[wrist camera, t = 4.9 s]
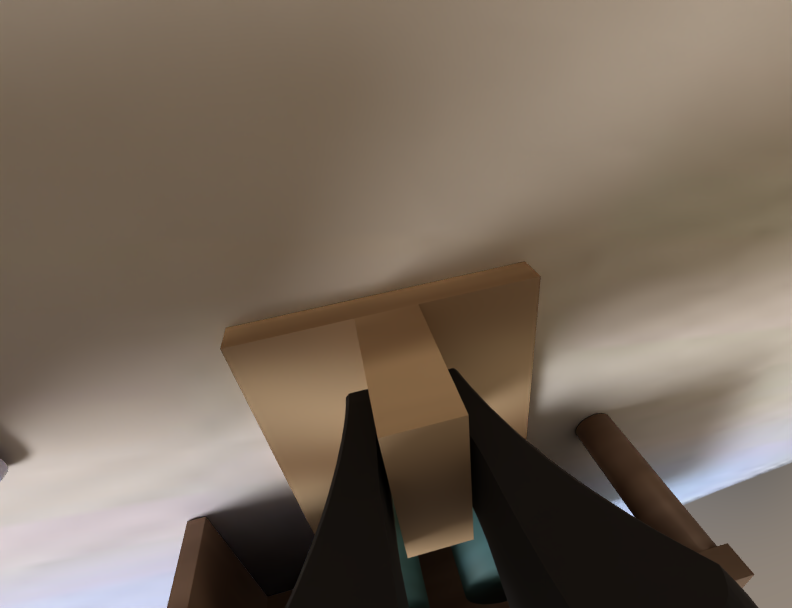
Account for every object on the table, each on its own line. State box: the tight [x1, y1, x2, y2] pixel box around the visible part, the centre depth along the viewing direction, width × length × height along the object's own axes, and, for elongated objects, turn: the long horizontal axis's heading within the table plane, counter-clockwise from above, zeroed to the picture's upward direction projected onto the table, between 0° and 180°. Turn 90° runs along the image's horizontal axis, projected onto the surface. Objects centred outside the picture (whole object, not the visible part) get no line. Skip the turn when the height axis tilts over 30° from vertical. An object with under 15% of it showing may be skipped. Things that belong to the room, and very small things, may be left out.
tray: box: [220, 262, 541, 608], centre depth 13 cm, size 12×9×5 cm
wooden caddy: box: [167, 413, 754, 608], centre depth 16 cm, size 8×18×6 cm, turn 97°
